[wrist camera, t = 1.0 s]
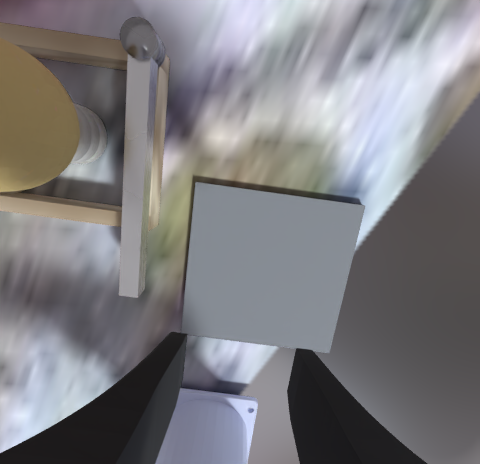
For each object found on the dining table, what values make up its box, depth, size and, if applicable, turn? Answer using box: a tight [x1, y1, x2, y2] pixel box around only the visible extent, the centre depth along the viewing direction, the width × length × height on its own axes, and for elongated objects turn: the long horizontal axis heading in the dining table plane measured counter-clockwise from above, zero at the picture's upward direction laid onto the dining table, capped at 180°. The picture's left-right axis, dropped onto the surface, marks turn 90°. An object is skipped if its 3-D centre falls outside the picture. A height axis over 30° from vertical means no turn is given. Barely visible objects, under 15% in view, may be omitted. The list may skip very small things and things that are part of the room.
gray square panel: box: [181, 182, 365, 353], centre depth 21 cm, size 12×12×1 cm
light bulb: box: [0, 38, 107, 192], centre depth 14 cm, size 6×6×10 cm
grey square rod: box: [119, 17, 166, 298], centre depth 16 cm, size 15×2×2 cm, turn 172°
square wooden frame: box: [0, 22, 170, 231], centre depth 18 cm, size 11×11×2 cm
